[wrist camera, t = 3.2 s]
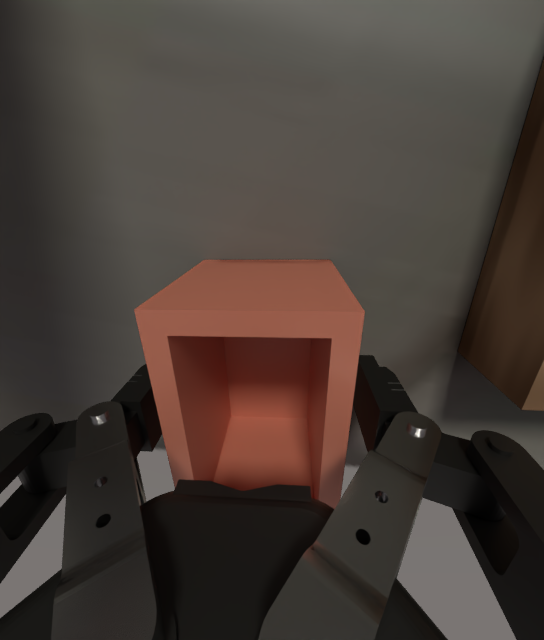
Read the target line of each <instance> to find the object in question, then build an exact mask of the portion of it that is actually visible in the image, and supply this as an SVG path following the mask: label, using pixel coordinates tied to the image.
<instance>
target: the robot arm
mask: <svg viewBox="0 0 544 640" xmlns="http://www.w3.org/2000/svg"><path fill="white" fill-rule="evenodd" d="M353 406H354V409H355V412H356V415H357V419H358V422H359V425H360V428H361V432H362V435H363V438H364V441H365V445H366V448H367V451H368V454H367V455H366V457H365V459H364V461H363V462H362V464H361V466H360V467H359V469H358V471H357V472H356V474H355V476H354V477H353V479H352V481H351V482H350V484H349V486H348V488H347V489H346V491H345V493H344V494H343V496H342V498H341V499H340V501H339V503H338V504H337V506H336V508H335V509H334V508H332V507H330V506H329V505H327V504H326V503H324V502H321V501H319V500H317V499H314V498H311V486H301V485H281V484H276V485H271V486H266V487H261V488H256V489H251V490H246V491H240V490H237V489H234V488H231V487H228V486H225V485H222V484H218V483H215V482H212V481H203V480H184V479H179V480H178V482H177V485H176V487H175V490H174V491H171V492H168V493H165V494H162V495H160V496H157V497H155V498H153V499H151V500H149V501H147V502H146V498H145V493H144V489H143V484H142V479H141V474H140V469H139V465H138V461H137V456H138V454H139V452H140V451H151V452H152V451H153V449H154V447H155V446H156V444H157V442H158V440H159V438H160V437H161V435H162V429H161V425H160V420H159V416H158V412H157V407H156V403H155V399H154V394H153V390H152V385H151V381H150V377H149V372H148V368H147V364H145V365H144V366H142V367H141V368H140V369H139V370H138V371H137V372H136V373H135V374H134V376H132V378H131V379H130V380H129V382H127V383H126V384H125V385H124V386H123V388H122V389H121V390H120V391H119V392H118V393H117V394H116V395H115V396H114V398H113V399H112V400H111V401H109V402H103V403H99V404H96V405H94V406H92V407H90V408H88V409H87V410H85V411H84V412H83V413H82V414H81V415H80V416H79V417H78V419H77V420H74V421H69V422H63V423H58V424H54V422H53V419H52V417H51V416H50V415H49V414H46V413H37V414H32V415H28V416H25V417H23V418H20V419H18V420H16V421H14V422H13V423H11V424H9V425H8V426H7V427H5V428H4V429H3V430H2V431H1V432H0V494H1V492H2V491H3V490H4V489H5V488H6V487H7V486H8V485H9V484H10V483H11V482H12V481H13V480H14V479H15V478H16V477H17V476H18V477H19V479H20V481H21V482H22V485H21V486H20V487H19V488H18V489H17V490H16V491H15V492H14V493H13V494H12V495H11V496H10V498H9V499H8V500H7V501H6V502H5V503H4V504H3V505H2V506H1V507H0V583H1V582H2V580H3V579H4V578H5V576H6V575H7V574H8V572H9V571H10V570H11V568H12V567H13V565H14V564H15V563H16V561H17V560H18V559H19V557H20V556H21V554H22V553H23V552H24V550H25V549H26V548H27V546H28V545H29V544H30V542H31V541H32V539H33V538H34V537H35V535H36V534H37V533H38V531H39V530H40V529H41V527H42V526H43V524H44V523H45V522H46V520H47V519H48V518H49V516H50V515H51V513H52V512H53V511H54V509H55V508H56V507H57V505H58V504H59V503H60V501H61V500H62V498H63V497H64V496H65V494H66V507H65V524H64V542H63V558H62V569H61V570H60V571H58V572H57V573H56V574H55V575H53V576H52V577H51V578H50V579H49V580H47V581H46V582H45V583H43V584H42V585H41V586H40V587H39V588H37V589H36V590H35V591H34V592H32V593H31V594H30V595H29V596H27V597H26V598H25V599H24V600H22V601H21V602H20V603H19V604H17V605H16V606H15V607H14V608H13V609H11V610H10V611H9V612H8V613H6V614H5V615H4V616H3V617H1V618H0V640H448V639H447V638H446V637H445V636H444V635H443V633H442V632H441V631H440V630H439V629H438V627H437V626H436V625H435V624H434V623H433V622H432V620H431V619H430V618H429V617H428V616H427V614H426V613H425V612H424V611H423V609H422V608H421V607H420V606H419V605H418V604H417V602H416V601H415V600H414V599H413V598H412V597H411V595H410V594H409V593H408V592H407V590H406V589H405V588H404V587H403V586H402V584H401V583H400V582H399V581H398V580H397V575H398V572H399V569H400V566H401V563H402V560H403V556H404V553H405V550H406V547H407V544H408V541H409V538H410V534H411V531H412V528H413V525H414V522H415V519H416V516H417V513H418V510H419V507H420V504H421V500H422V497H423V498H425V499H428V500H431V501H434V502H437V503H440V504H443V505H446V506H449V507H451V508H452V509H453V511H454V513H455V515H456V517H457V519H458V521H459V523H460V525H461V527H462V529H463V531H464V533H465V535H466V537H467V539H468V541H469V544H470V546H471V548H472V550H473V552H474V554H475V556H476V558H477V560H478V562H479V564H480V566H481V568H482V570H483V572H484V574H485V576H486V578H487V580H488V582H489V584H490V586H491V588H492V590H493V592H494V595H495V596H496V599H497V601H498V603H499V605H500V607H501V609H502V610H503V613H504V615H505V617H506V619H507V621H508V623H509V625H510V627H511V629H512V631H513V633H514V635H515V637H516V639H517V640H544V470H543V469H542V468H541V467H540V465H539V464H538V463H537V462H536V461H535V460H534V459H533V458H532V457H531V455H530V454H529V453H528V452H527V451H526V450H525V449H524V448H523V447H522V446H521V445H520V444H518V443H517V442H515V441H514V440H512V439H510V438H509V437H507V436H505V435H502V434H500V433H496V432H492V431H486V430H482V431H477V432H475V433H474V434H473V435H472V438H471V440H466V439H462V438H458V437H455V436H451V435H447V434H444V433H442V432H441V430H440V428H439V427H438V425H437V424H436V423H435V422H434V421H432V420H431V419H430V418H428V417H426V416H424V415H422V414H419V413H418V412H417V410H416V408H415V407H414V405H413V403H412V402H411V400H410V398H409V397H408V395H407V393H406V392H405V391H404V388H403V387H402V385H401V384H400V382H399V380H398V378H397V377H396V375H395V374H394V373H393V372H392V371H390V370H389V369H388V368H386V367H379V365H378V364H377V362H376V360H375V358H374V356H372V355H359V360H358V368H357V375H356V383H355V391H354V398H353Z"/></svg>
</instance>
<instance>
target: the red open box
mask: <svg viewBox="0 0 544 640" xmlns="http://www.w3.org/2000/svg"><path fill="white" fill-rule="evenodd" d="M134 311H135V316H136V320H137V324H138V329H139V333H140V337H141V342H142V346H143V350H144V355H145V359H146V364H147V368H148V372H149V377H150V381H151V385H152V390H153V394H154V399H155V403H156V407H157V412H158V416H159V420H160V425H161V429H162V433H163V438H164V442H165V447H166V451H167V455H168V459H169V464H170V468H171V473H172V477H173V481H174V486H175V487H176V485H177V482H178V480H179V479H184V480H203V481H212V482H215V483H218V484H222V485H225V486H228V487H231V488H234V489H237V490H240V491H246V490H251V489H256V488H261V487H266V486H271V485H276V484H281V485H301V486H311V498H314V499H317V500H319V501H321V502H324V503H326V504H327V505H329V506H330V507H332V508H334V509H335V508H336V506H337V504H338V503H339V501H340V498H341V490H342V482H343V475H344V467H345V460H346V452H347V444H348V437H349V429H350V421H351V414H352V406H353V398H354V391H355V383H356V375H357V368H358V360H359V352H360V345H361V337H362V329H363V322H364V314H365V311H364V310H363V308H362V307H361V305H360V304H359V302H358V301H357V299H356V298H355V296H354V295H353V293H352V292H351V290H350V289H349V287H348V286H347V284H346V283H345V281H344V280H343V278H342V277H341V275H340V274H339V272H338V271H337V269H336V268H335V266H334V265H333V263H332V262H331V260H203V261H202V262H201V263H199V264H198V265H196V266H195V267H193V268H192V269H191V270H189V271H188V272H186V273H185V274H184V275H182V276H181V277H179V278H178V279H177V280H175V281H174V282H172V283H171V284H170V285H168V286H167V287H165V288H164V289H162V290H161V291H160V292H158V293H157V294H155V295H154V296H153V297H151V298H150V299H148V300H147V301H146V302H144V303H143V304H141V305H140V306H138V307H137V308H136V309H134Z"/></svg>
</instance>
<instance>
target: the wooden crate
mask: <svg viewBox="0 0 544 640" xmlns="http://www.w3.org/2000/svg"><path fill="white" fill-rule="evenodd" d="M458 352H459V353H460V354H461V355H462V356H463V357H464V358H465V359H466V360H467V361H468V362H470V363H471V364H472V365H473V366H474V367H475V368H476V369H477V370H478V371H479V372H481V373H482V374H483V375H484V376H485V377H486V378H487V379H488V380H489V381H490V382H492V383H493V384H494V385H495V386H496V387H497V388H498V389H499V390H500V391H501V392H503V393H504V394H505V395H506V396H507V397H508V398H509V399H510V400H511V401H512V402H514V403H515V404H516V405H517V406H518V407H519V408H520V409H521V410H541V411H544V60H543V63H542V66H541V70H540V73H539V77H538V80H537V83H536V87H535V90H534V94H533V97H532V100H531V104H530V107H529V111H528V114H527V117H526V121H525V124H524V128H523V131H522V134H521V138H520V141H519V145H518V148H517V151H516V155H515V158H514V162H513V165H512V168H511V172H510V175H509V179H508V182H507V185H506V189H505V192H504V196H503V199H502V202H501V206H500V209H499V213H498V216H497V219H496V223H495V226H494V230H493V233H492V237H491V240H490V243H489V247H488V250H487V254H486V257H485V260H484V264H483V267H482V271H481V274H480V277H479V281H478V284H477V288H476V291H475V294H474V298H473V301H472V305H471V308H470V311H469V315H468V318H467V322H466V325H465V328H464V332H463V335H462V339H461V342H460V345H459V349H458Z"/></svg>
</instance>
